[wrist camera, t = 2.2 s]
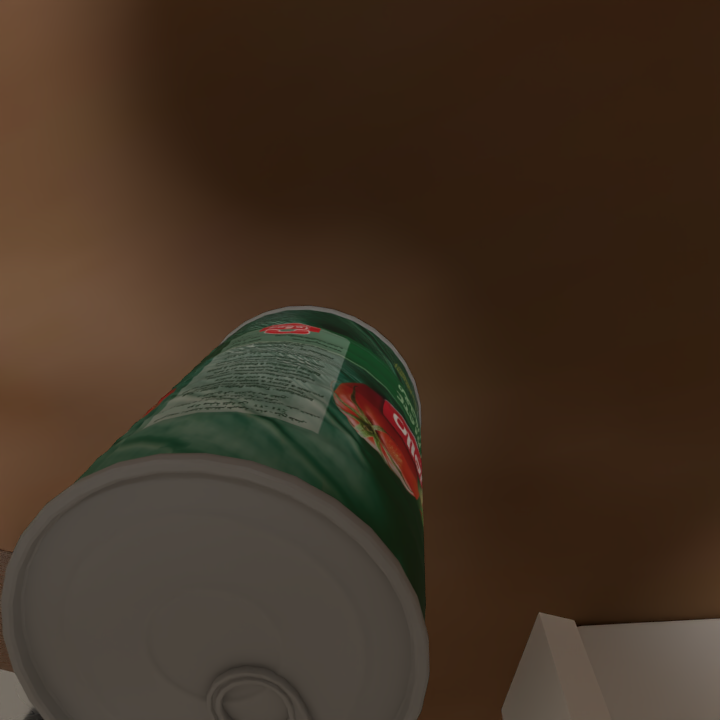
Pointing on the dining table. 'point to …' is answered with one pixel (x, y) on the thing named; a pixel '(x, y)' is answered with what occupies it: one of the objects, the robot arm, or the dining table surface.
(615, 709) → the medicine bottle
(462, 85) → the dining table surface
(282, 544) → the canned tomato
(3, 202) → the dining table surface
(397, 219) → the dining table surface
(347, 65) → the dining table surface
